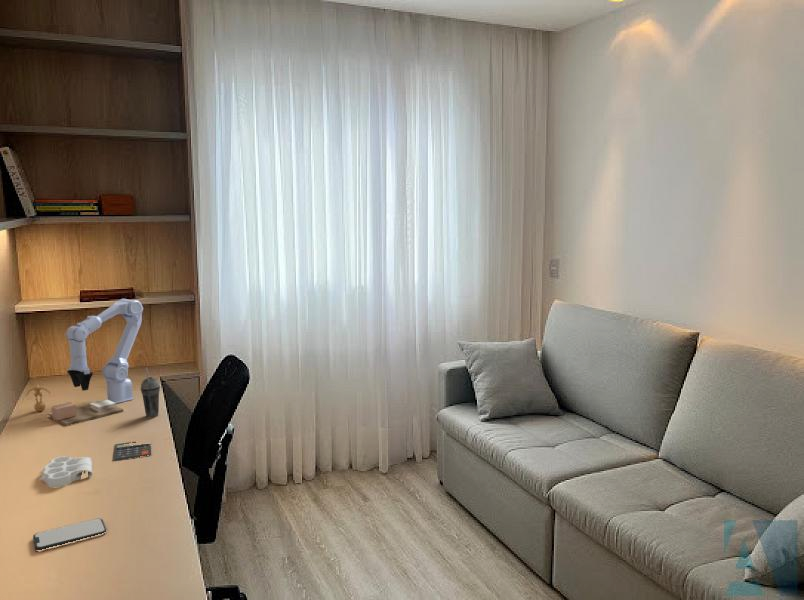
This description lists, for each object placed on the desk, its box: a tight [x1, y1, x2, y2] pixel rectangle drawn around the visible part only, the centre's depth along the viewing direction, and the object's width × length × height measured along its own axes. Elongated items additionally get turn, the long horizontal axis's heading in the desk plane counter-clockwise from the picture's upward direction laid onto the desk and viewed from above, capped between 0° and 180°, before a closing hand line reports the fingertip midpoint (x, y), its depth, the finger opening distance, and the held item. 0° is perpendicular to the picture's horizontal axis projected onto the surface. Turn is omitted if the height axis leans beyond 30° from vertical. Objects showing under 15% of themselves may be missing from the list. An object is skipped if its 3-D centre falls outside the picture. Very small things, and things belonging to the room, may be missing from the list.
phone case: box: [32, 518, 108, 550], centre depth 161 cm, size 9×2×16 cm
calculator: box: [112, 441, 152, 462], centre depth 216 cm, size 12×1×15 cm
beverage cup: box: [140, 367, 161, 418], centre depth 250 cm, size 7×7×20 cm
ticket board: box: [49, 398, 124, 427], centre depth 253 cm, size 22×16×3 cm
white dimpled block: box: [38, 455, 93, 488], centre depth 197 cm, size 3×18×15 cm
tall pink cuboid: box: [51, 401, 77, 421], centre depth 247 cm, size 7×5×4 cm
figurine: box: [26, 383, 51, 412], centre depth 256 cm, size 8×6×12 cm
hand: (81, 388), depth 257 cm, fingers open, 7 cm apart
